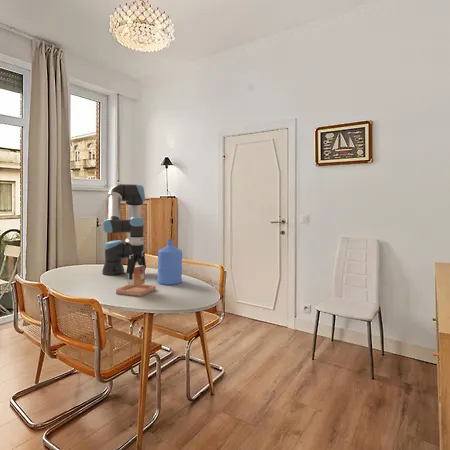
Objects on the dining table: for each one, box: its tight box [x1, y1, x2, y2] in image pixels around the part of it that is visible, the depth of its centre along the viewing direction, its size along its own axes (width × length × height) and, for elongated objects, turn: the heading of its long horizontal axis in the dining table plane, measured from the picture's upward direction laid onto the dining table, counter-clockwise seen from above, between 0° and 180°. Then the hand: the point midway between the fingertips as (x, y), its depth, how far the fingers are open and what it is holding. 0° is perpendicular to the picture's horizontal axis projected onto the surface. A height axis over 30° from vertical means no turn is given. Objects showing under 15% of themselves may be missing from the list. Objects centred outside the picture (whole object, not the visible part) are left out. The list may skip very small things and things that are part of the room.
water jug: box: [157, 238, 183, 286], centre depth 213 cm, size 16×16×28 cm
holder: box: [115, 283, 157, 298], centre depth 190 cm, size 16×16×2 cm
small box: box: [127, 264, 146, 286], centre depth 189 cm, size 8×6×10 cm
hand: (136, 283), depth 189 cm, fingers closed on small box, 9 cm apart
